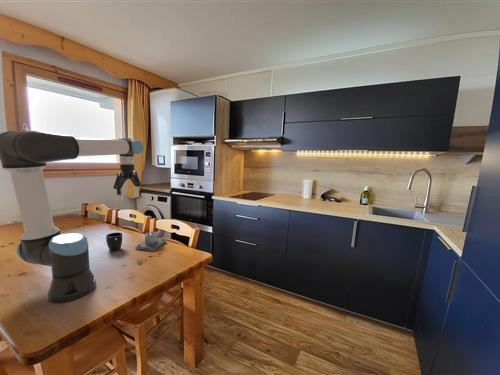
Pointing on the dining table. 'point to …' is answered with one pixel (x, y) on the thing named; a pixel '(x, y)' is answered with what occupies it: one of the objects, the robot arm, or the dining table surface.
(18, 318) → the dining table surface
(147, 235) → the hub
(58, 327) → the dining table surface
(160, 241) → the shaft block
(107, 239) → the mug
